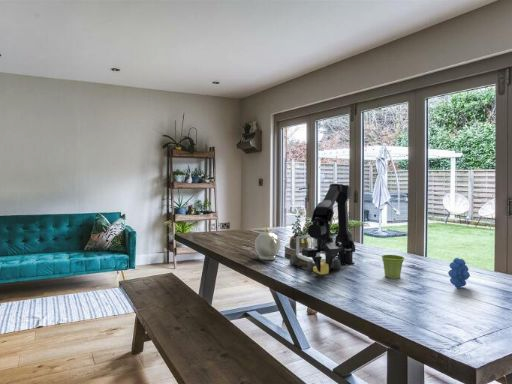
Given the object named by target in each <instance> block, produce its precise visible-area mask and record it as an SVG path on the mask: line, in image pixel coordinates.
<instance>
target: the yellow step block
mask: <svg viewBox="0 0 512 384" xmlns="http://www.w3.org/2000/svg"><path fill="white" fill-rule="evenodd" d="M313 271H314V272H313V273H317V274H319V275H328V274H330V273H329V271H330V269H329V264H327V263H326V262H321V270H320V272H319V271H318V269H317V267H316V266H315V267H313Z"/></svg>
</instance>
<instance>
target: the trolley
mask: <svg viewBox="0 0 512 384" xmlns="http://www.w3.org/2000/svg"><path fill="white" fill-rule="evenodd" d="M310 238H311V239H313V249H315V246H317V239H315V238H312V237H311V236H310V235H309V234H308V235H297V236H295V254H291V255H290V257H289V258H290V259H289V261H290V264H291V265H292V266H297V265H298V264H299V262H300V259H301V260H303V261H306V262H307V263H306V268H307V271H308V272H309V273H315V272H314V271H313V267H315V266H316V265H315V263H314V261H313V259H312V257H306V256H303V255H302V252H300V239H310ZM315 250H317V249H315ZM320 256H321V257H322V258H321V263H322V262H324V263H326V258H325V253H322V254H320ZM341 266H342V264H341V263H340V260H339V259H338V257H335V258H334V259H333V261H332V264H331V266H330V268H331V269H332V270H340V269H341Z"/></svg>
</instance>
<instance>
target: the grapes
mask: <svg viewBox="0 0 512 384" xmlns="http://www.w3.org/2000/svg"><path fill="white" fill-rule="evenodd" d="M448 266H449V268H450V269H449V270H448V271H447V274H448V276H449V277H450V279H449V282H450V284H451V285H453V286H454V287H455V288H456V289H460V288H462V287H465V286H466V285H467V281H466V280H468V279H469V278H470V277H471V273H470V272H469V270H470V269H469V267H468V265H467V264H466V261H465V260H464V259H463V258H459V257H455V258H454V259H453V260H452V262H450V263H449V265H448Z"/></svg>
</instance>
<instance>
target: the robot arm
mask: <svg viewBox="0 0 512 384" xmlns="http://www.w3.org/2000/svg"><path fill="white" fill-rule="evenodd" d="M328 187H329V188H328V190H327V192H326V194H325V196H324V198H323V200H322V201H321V202H318V204H316V206H315V207H314V209H313V212H312V216H311V220H310V222H311V223H312V224H311V225H310V226H309V227H308V229H307V233H308V235H310V236H311V237H312V238H311V239H314V238H315V239H317V246H315V249H317V250H315V249H314V248H311V247H307V248H306V247H304V248H302V250H301V253H302V255H303V256H306V257H312V259H313V261H314V263H315V265H316V267H317V269H318V271H319V272H320V270H321V263H322V262H321V258H322V257H321V256H320V254H325V258H326V262H325V263H327V264H329V270H330V269H331V264H332V261H333V259H334V258H335V259H336V258H338V259H339V260H340V263H341V265H343V266H345V265H354V264H355V262H353V254H354V253H356V244H355V242H354V240H353V235H352V234H351V232H350V230H349V215H348V202H349V199H350V198H351V194H352V187H351V186H349V184H342V183H340V182H337V183H336V182H332V183H330V184H329V186H328ZM335 203H336V205H337V219H338V220H337V224H338V232H337V235H336V236H335V237H334V238H335V241H334V239H333V237H331V224H332V220H333V217H334V214H335V211H334V208H333V207H334V205H335Z"/></svg>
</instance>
